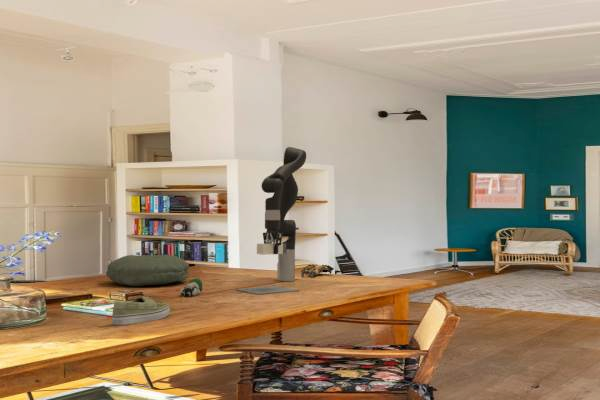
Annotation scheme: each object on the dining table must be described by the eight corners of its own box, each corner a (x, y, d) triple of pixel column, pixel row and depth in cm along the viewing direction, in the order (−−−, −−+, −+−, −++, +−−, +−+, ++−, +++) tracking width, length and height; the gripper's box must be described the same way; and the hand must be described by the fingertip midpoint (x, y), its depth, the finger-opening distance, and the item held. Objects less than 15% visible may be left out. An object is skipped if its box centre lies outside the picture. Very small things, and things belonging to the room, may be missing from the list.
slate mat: (235, 290, 361) (235, 289, 361) (276, 286, 375) (276, 285, 375) (257, 294, 345) (257, 293, 345) (299, 291, 359) (299, 290, 359)
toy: (195, 303, 336) (208, 291, 350) (193, 288, 334) (206, 277, 348) (178, 302, 339) (191, 290, 353) (176, 288, 337) (190, 276, 351)
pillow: (94, 283, 390) (131, 291, 359) (94, 255, 389) (132, 261, 359) (165, 277, 418) (205, 284, 387) (165, 251, 418) (205, 256, 387)
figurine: (322, 280, 413) (340, 272, 440) (322, 270, 412) (340, 262, 440) (292, 279, 420) (311, 271, 448) (291, 268, 420) (311, 261, 447)
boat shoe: (177, 315, 285) (177, 293, 285) (129, 327, 259) (129, 302, 259) (155, 313, 290) (155, 291, 290) (106, 325, 264) (106, 300, 264)
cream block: (262, 254, 353) (286, 253, 362) (262, 244, 353) (286, 243, 362) (256, 254, 357) (280, 253, 366) (256, 243, 358) (280, 243, 366)
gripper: (287, 219, 356) (287, 254, 356) (270, 218, 368) (270, 252, 368) (274, 219, 352) (274, 255, 352) (258, 219, 364) (258, 253, 363)
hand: (272, 253), depth 360 cm, fingers closed on cream block, 5 cm apart
